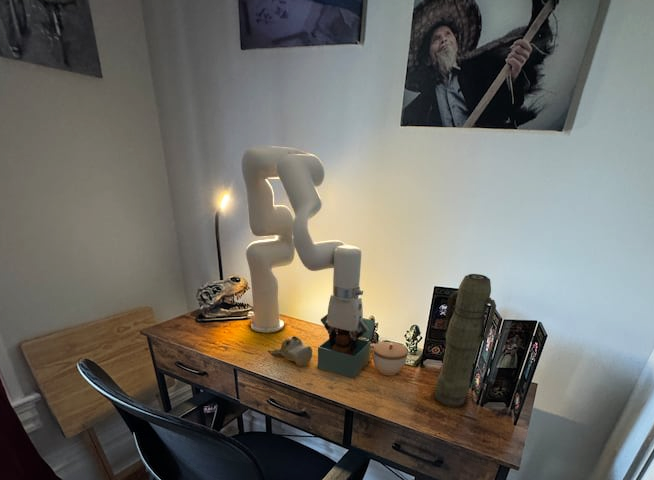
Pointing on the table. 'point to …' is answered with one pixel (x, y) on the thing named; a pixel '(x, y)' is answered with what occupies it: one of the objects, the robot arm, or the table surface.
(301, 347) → the ceramic sculpture
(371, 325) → the flap
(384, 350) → the trinket box
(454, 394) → the thermos
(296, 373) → the table surface
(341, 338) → the wooden figurine
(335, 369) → the carton
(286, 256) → the robot arm
